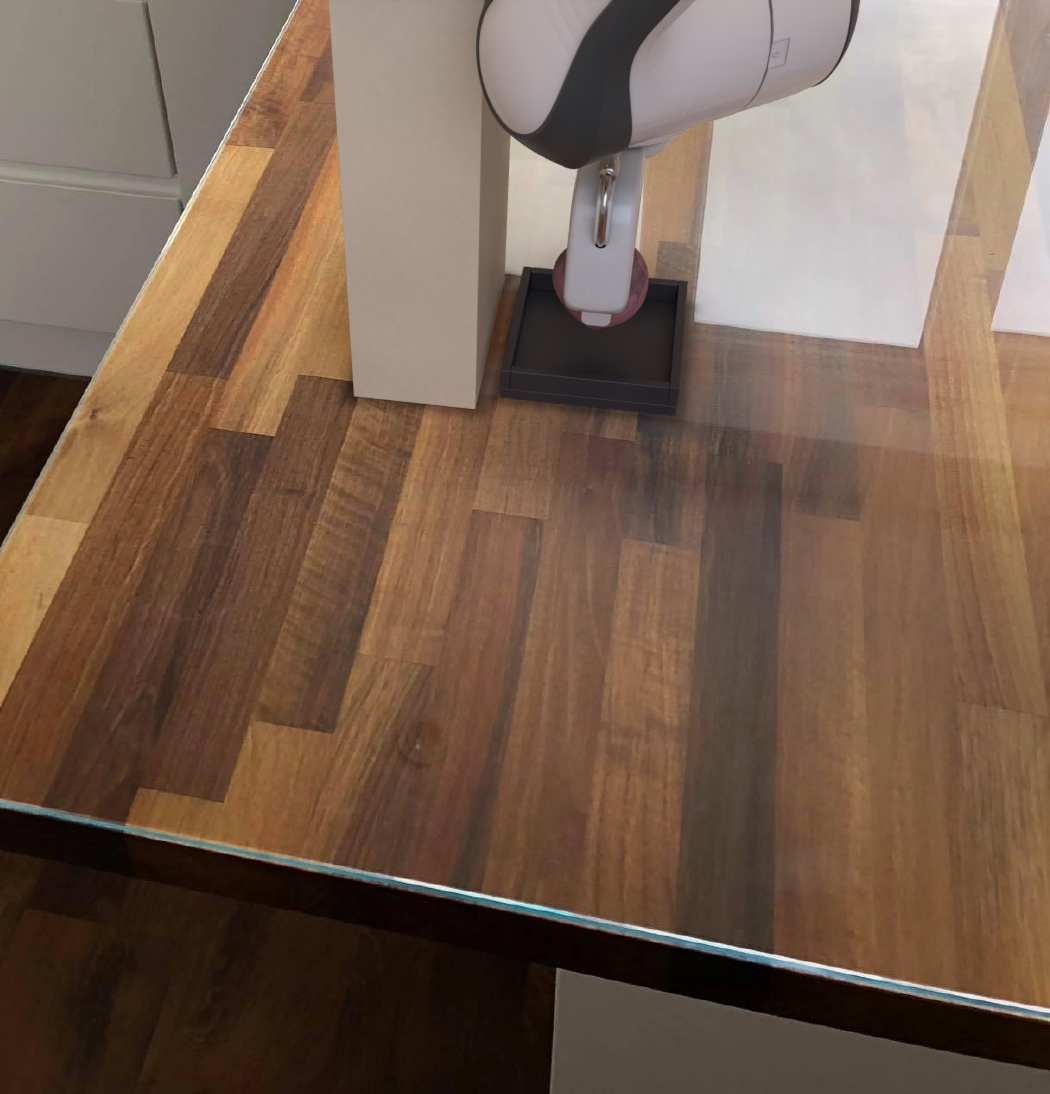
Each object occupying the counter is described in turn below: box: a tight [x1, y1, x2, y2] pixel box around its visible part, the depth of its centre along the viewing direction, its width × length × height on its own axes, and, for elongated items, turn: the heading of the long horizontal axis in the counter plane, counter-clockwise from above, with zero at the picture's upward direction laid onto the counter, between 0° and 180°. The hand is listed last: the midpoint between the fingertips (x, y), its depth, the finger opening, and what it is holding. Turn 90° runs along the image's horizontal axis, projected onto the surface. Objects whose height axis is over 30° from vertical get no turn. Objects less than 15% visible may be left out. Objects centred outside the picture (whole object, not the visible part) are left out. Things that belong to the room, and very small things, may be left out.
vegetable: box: [552, 247, 650, 331], centre depth 87 cm, size 6×6×10 cm
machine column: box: [328, 0, 512, 410], centre depth 83 cm, size 9×15×30 cm, turn 169°
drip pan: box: [499, 265, 689, 417], centre depth 91 cm, size 11×11×2 cm
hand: (601, 281), depth 88 cm, fingers closed on vegetable, 6 cm apart
